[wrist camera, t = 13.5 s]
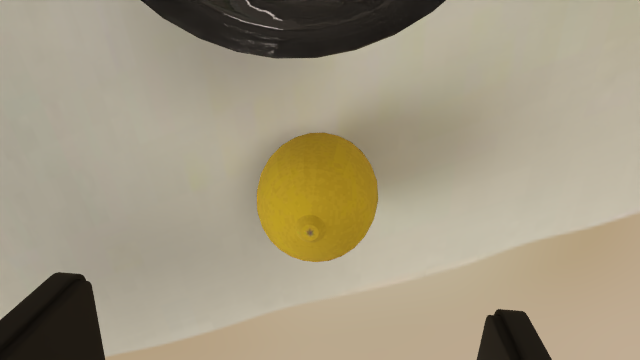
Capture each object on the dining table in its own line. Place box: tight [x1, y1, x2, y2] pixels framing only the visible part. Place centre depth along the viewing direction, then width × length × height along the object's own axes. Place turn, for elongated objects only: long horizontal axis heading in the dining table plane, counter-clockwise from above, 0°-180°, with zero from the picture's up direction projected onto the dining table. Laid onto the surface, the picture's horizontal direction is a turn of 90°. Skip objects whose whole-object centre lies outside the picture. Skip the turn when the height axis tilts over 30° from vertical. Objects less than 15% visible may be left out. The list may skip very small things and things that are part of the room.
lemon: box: [257, 133, 378, 262], centre depth 20 cm, size 6×6×8 cm
